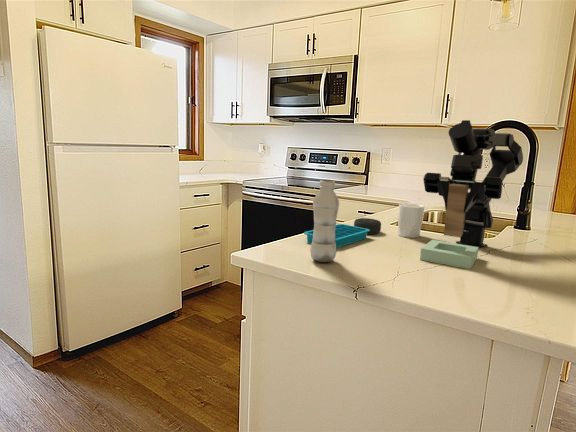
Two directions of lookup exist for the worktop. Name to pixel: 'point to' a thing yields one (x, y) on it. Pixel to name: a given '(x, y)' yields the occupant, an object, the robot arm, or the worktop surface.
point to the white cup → (410, 220)
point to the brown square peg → (455, 210)
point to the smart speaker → (368, 225)
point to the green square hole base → (449, 254)
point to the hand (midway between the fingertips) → (455, 210)
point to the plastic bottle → (324, 222)
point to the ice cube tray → (344, 234)
